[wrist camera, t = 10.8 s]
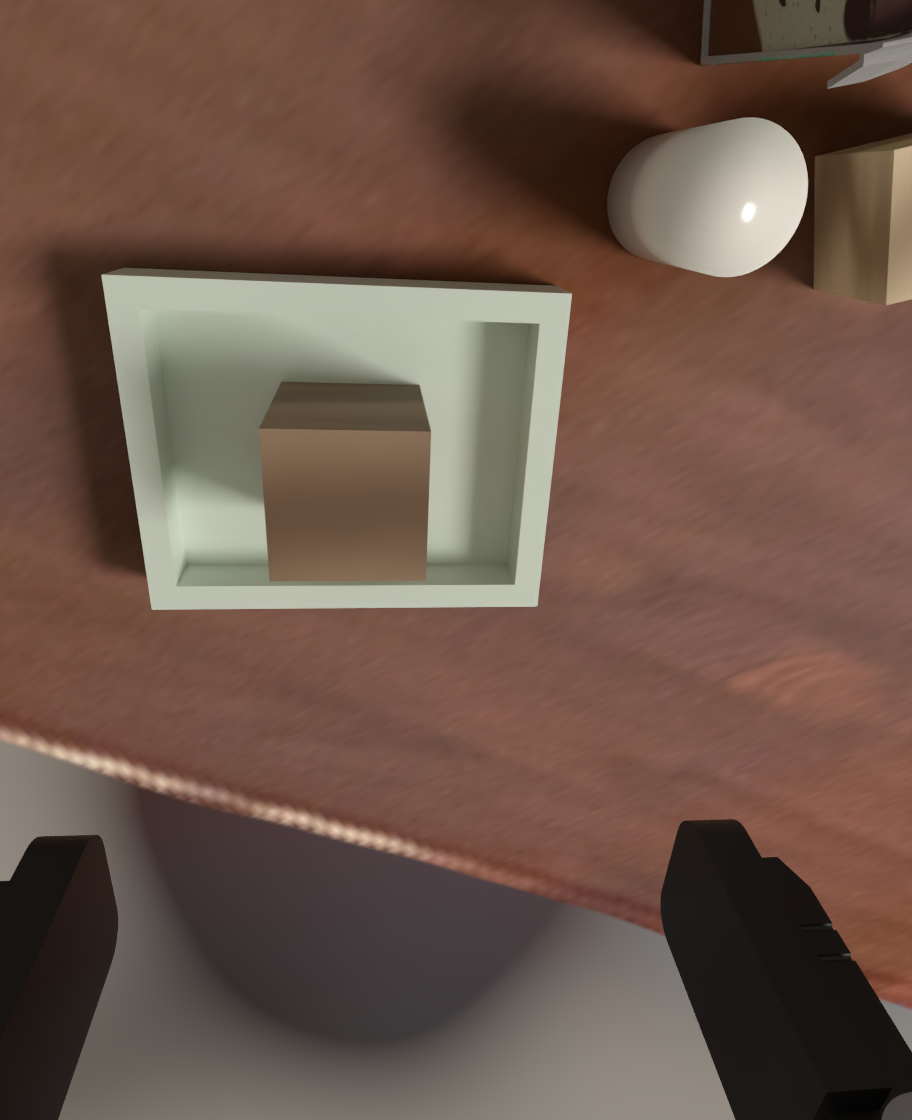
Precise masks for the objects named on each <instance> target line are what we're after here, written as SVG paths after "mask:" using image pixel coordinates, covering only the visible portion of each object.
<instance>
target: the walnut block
mask: <svg viewBox="0 0 912 1120" xmlns="http://www.w3.org/2000/svg"><path fill="white" fill-rule="evenodd" d="M259 438H260V452H261V466H262V480H263V495H264V509H265V523H266V537H267V551H268V566H269V580H270V581H426V568H427V539H428V509H429V480H430V450H431V429H430V425H429V421H428V417H427V413H426V409H425V405H424V401H423V397H422V393H421V389H420V385H397V384H357V383H316V382H281V383H280V385H279V388H278V390H277V392H276V394H275V396H274V398H273V400H272V402H271V404H270V406H269V408H268V411H267V413H266V415H265V417H264V419H263V421H262V423H261V425H260V427H259Z"/></svg>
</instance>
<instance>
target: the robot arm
mask: <svg viewBox="0 0 912 1120" xmlns="http://www.w3.org/2000/svg"><path fill="white" fill-rule="evenodd" d="M661 918H662V924H663V929H664V933H665V936H666V939H667V942H668V945H669V947H670V950H671V952H672V955H673V958H674V960H675V963H676V966H677V968H678V970H679V973H680V976H681V979H682V981H683V984H684V986H685V989H686V991H687V994H688V997H689V999H690V1002H691V1004H692V1007H693V1010H694V1012H695V1015H696V1018H697V1020H698V1022H699V1025H700V1028H701V1030H702V1033H703V1036H704V1038H705V1041H706V1044H707V1046H708V1049H709V1051H710V1054H711V1057H712V1059H713V1062H714V1065H715V1067H716V1070H717V1073H718V1075H719V1078H720V1080H721V1083H722V1086H723V1088H724V1090H725V1093H726V1096H727V1099H728V1101H729V1104H730V1106H731V1109H732V1112H733V1114H734V1117H735V1119H736V1120H912V1052H911V1050H910V1049H909V1047H908V1046H907V1044H906V1042H905V1041H904V1039H903V1038H902V1036H901V1034H900V1032H899V1031H898V1029H897V1028H896V1026H895V1024H894V1023H893V1021H892V1019H891V1018H890V1016H889V1015H888V1013H887V1011H886V1010H885V1008H884V1007H883V1005H882V1003H881V1002H880V1000H879V998H878V997H877V995H876V993H875V992H874V990H873V989H872V987H871V985H870V984H869V982H868V980H867V979H866V977H865V976H864V974H863V972H862V971H861V969H860V968H859V966H858V964H857V963H856V961H852V959H851V956H850V951H849V950H848V948H847V946H846V945H845V943H844V942H843V940H842V938H841V937H840V935H839V933H838V932H837V930H833V928H832V922H831V920H830V919H829V917H828V916H827V914H826V912H825V911H824V909H823V907H822V906H821V904H820V903H819V901H818V899H817V898H816V896H815V894H814V893H813V891H812V890H811V888H810V887H809V886H808V885H807V884H806V883H805V882H804V881H803V880H802V879H801V878H799V877H798V876H797V875H796V874H795V873H794V872H793V871H792V870H791V869H790V868H789V867H788V866H786V865H785V864H784V863H783V862H782V861H781V860H780V859H779V858H778V857H767V858H761V856H760V854H759V852H758V851H757V849H756V847H755V845H754V844H753V842H752V840H751V838H750V837H749V835H748V833H747V831H746V830H745V828H744V827H743V826H742V824H741V823H740V822H738V821H737V820H734V819H728V820H692V821H683V822H682V823H681V824H680V826H679V828H678V831H677V835H676V839H675V843H674V846H673V850H672V854H671V858H670V861H669V865H668V869H667V873H666V876H665V880H664V884H663V888H662V892H661ZM117 932H118V911H117V906H116V901H115V896H114V892H113V887H112V882H111V877H110V872H109V867H108V863H107V858H106V853H105V848H104V844H103V841H102V839H101V837H100V836H98V835H78V836H45V837H44V836H42V837H37V838H36V839H34V840H33V841H32V842H31V843H30V845H29V846H28V848H27V849H26V851H25V853H24V855H23V857H22V859H21V861H20V862H19V865H18V866H17V868H16V870H15V872H14V874H13V876H12V878H11V880H10V881H0V1120H58V1118H59V1115H60V1112H61V1109H62V1106H63V1103H64V1100H65V1098H66V1095H67V1092H68V1089H69V1086H70V1083H71V1080H72V1077H73V1074H74V1071H75V1068H76V1065H77V1063H78V1059H79V1057H80V1054H81V1051H82V1048H83V1045H84V1042H85V1039H86V1036H87V1033H88V1030H89V1027H90V1024H91V1021H92V1019H93V1016H94V1013H95V1010H96V1007H97V1004H98V1001H99V998H100V995H101V992H102V989H103V987H104V983H105V981H106V978H107V975H108V972H109V969H110V966H111V963H112V960H113V956H114V952H115V947H116V941H117Z"/></svg>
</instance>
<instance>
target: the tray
mask: <svg viewBox="0 0 912 1120" xmlns="http://www.w3.org/2000/svg"><path fill="white" fill-rule="evenodd" d="M101 276H102V283H103V289H104V296H105V303H106V309H107V316H108V322H109V329H110V336H111V342H112V349H113V356H114V362H115V369H116V376H117V382H118V389H119V395H120V402H121V409H122V415H123V422H124V429H125V435H126V442H127V448H128V455H129V462H130V468H131V475H132V482H133V488H134V495H135V501H136V508H137V515H138V521H139V528H140V535H141V541H142V548H143V554H144V561H145V568H146V574H147V581H148V588H149V594H150V601H151V607H152V610H167V609H289V608H411V607H534V606H537V604H538V595H539V586H540V577H541V568H542V559H543V550H544V541H545V532H546V523H547V514H548V505H549V496H550V487H551V478H552V469H553V460H554V451H555V442H556V433H557V424H558V415H559V406H560V397H561V388H562V380H563V371H564V362H565V353H566V344H567V335H568V326H569V317H570V308H571V299H572V293H570V292H568V291H566V290H564V289H562V288H560V287H558V286H551V285H527V284H503V283H479V282H455V281H431V280H407V279H383V278H359V277H335V276H311V275H287V274H263V273H239V272H215V271H191V270H167V269H143V268H122V269H118V270H115V271H112V272H108V273H105V274H102V275H101ZM281 382H316V383H357V384H397V385H420V389H421V393H422V397H423V401H424V405H425V409H426V413H427V417H428V421H429V425H430V429H431V450H430V480H429V509H428V539H427V568H426V581H270V580H269V566H268V551H267V537H266V523H265V509H264V495H263V480H262V466H261V452H260V438H259V427H260V425H261V423H262V421H263V419H264V417H265V415H266V413H267V411H268V408H269V406H270V404H271V402H272V400H273V398H274V396H275V394H276V392H277V390H278V388H279V385H280V383H281Z"/></svg>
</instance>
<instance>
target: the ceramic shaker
mask: <svg viewBox="0 0 912 1120" xmlns="http://www.w3.org/2000/svg"><path fill="white" fill-rule="evenodd" d="M807 194H808V173H807V167H806V163H805V160H804V156H803V154H802V152H801V149H800V147H799V145H798V144H797V143H796V141H795V140H794V138H793V137H792V136H791V135H790V134H789V133H788V132H787V131H786V130H785V129H783V128H782V127H781V126H779V125H777V124H776V123H774V122H772V121H769V120H765V119H761V118H755V117H750V118H739V119H734V120H729V121H724V122H719V123H714V124H709V125H704V126H699V127H694V128H689V129H684V130H679V131H674V132H669V133H664V134H659V135H655V136H652V137H650V138H648V139H645V140H643V141H642V142H640V143H639V144H637V145H636V146H635V147H633V148H632V149H631V150H630V151H629V152H628V153H627V154H626V155H625V156H624V158H623V159H622V160H621V162H620V163H619V165H618V167H617V168H616V170H615V172H614V174H613V177H612V179H611V182H610V186H609V190H608V195H607V214H608V220H609V223H610V227H611V229H612V231H613V234H614V236H615V237H616V239H617V240H618V242H619V243H620V244H621V245H622V246H623V247H624V248H625V249H626V250H627V251H628V252H630V253H632V254H633V255H635V256H637V257H640V258H643V259H647V260H651V261H655V262H659V263H663V264H667V265H671V266H675V267H679V268H684V269H688V270H692V271H696V272H700V273H704V274H708V275H712V276H718V277H734V276H740V275H744V274H747V273H750V272H752V271H754V270H756V269H758V268H760V267H762V266H763V265H765V264H767V263H768V262H769V261H770V260H772V259H773V258H774V257H775V256H776V255H777V254H778V253H779V252H780V251H781V250H782V249H783V248H784V247H785V246H786V244H787V243H788V242H789V240H790V239H791V237H792V236H793V234H794V233H795V231H796V229H797V227H798V225H799V223H800V220H801V218H802V215H803V212H804V209H805V205H806V200H807Z"/></svg>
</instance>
